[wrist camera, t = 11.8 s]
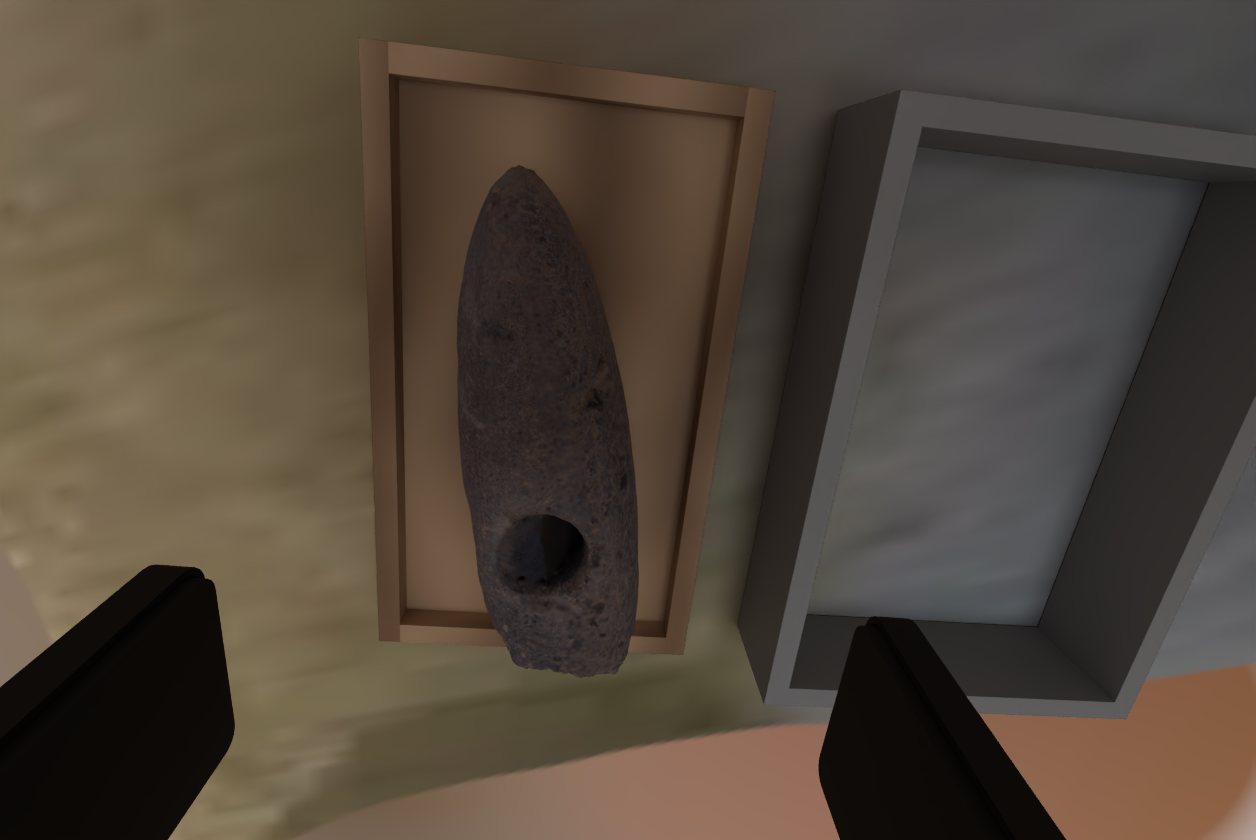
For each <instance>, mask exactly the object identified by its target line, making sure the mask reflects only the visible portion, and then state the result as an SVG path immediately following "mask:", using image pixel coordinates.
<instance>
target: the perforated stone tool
mask: <svg viewBox="0 0 1256 840" xmlns="http://www.w3.org/2000/svg"><path fill="white" fill-rule="evenodd" d="M457 353H458V372H457V387H458V427H459V442H460V454H461V466H462V477H463V485H464V490H465V494H466V497H467V500H468V504H469V508H470V513H471V521H472V529H473V535H474V541H475V549H476V560H477V570H478V577H479V582H480V585H481V588H482V592H483V597H484V602H485V605H486V608H487V611H488V613H489V615H490V617H491V620H492V622H493V626H494V627H495V629H496V630H497V632H498V633H499V635H501V637H502V639H503V641H504V643H505V645H506V646H507V648H508V650H509V652H510V655H511V658H512V660H513V662H514V663H515V664H516V665H518V666H520V667H524V668H526V669H528V668H532V669H539V670H544V669H551V670H553V671H554V672H561V673H564V674H567V673H571V674H573V675H575V676H577V677H580V678H581V677H583V676H584V677H586V676H588V677H590V676H594V675H596V674H602V673H603V674H607V673H611V674H615V673H616V672H617V671H618V669H619V667H620V666H621V664H623V661H624V660H625V657H626V656H627V654H628V649H629V644H630V639H631V636H632V634H633V632H634V630H635V622H636V612H637V603H638V587H639V565H638V507H637V494H636V482H635V469H634V461H633V453H632V443H631V434H630V426H629V418H628V412H627V406H626V400H625V395H624V389H623V384H622V380H621V375H620V371H619V367H618V363H617V359H616V354H615V349H614V345H613V341H612V338H611V334H610V330H609V326H608V322H607V319H606V315H605V312H604V308H603V304H602V301H601V298H600V294H599V291H598V288H597V285H596V282H595V279H594V276H593V273H592V270H591V268H590V265H589V262H588V259H587V257H586V255H585V252H584V250H583V248H582V245H581V242H580V240H579V238H578V236H577V234H576V232H575V230H574V228H573V227H572V224H571V222H570V220H569V218H568V216H567V214H566V212H565V210H564V209H563V207H562V205H561V204H560V202H559V201H558V199H557V198H556V196H555V195H554V194H553V192H552V191H551V190H550V189H549V187H548V186H547V185H546V184H545V182H544V181H543V180H542V179H541V178H540V177H539V176H538V175H537V174H536V172H535V171H534V170H531V169H527V168H525V167H523V166H520V165H518V166H516V167H514V166H513V167H511V168H510V169H509V170H507V171H506V173H505V174H504V175H503V176H502V177H500V179H498V180H497V181H496V182H495V183H494V185H493V186H492V187H491V189H490V190H489V193H488V195H487V197H486V199H485V201H484V203H483V205H482V208H481V210H480V213H479V216H478V219H477V221H476V224H475V227H474V230H473V233H472V236H471V240H470V243H469V247H468V251H467V256H466V261H465V265H464V273H463V280H462V284H461V290H460V296H459V304H458V316H457Z"/></svg>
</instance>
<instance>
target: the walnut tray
mask: <svg viewBox="0 0 1256 840" xmlns="http://www.w3.org/2000/svg"><path fill="white" fill-rule="evenodd" d="M359 62H360V91H361V121H362V150H363V180H364V209H365V239H366V268H367V298H368V327H369V357H370V387H371V416H372V446H373V475H374V505H375V534H376V564H377V593H378V623H379V641H394V642H415V643H437V644H458V645H479V646H501V647H507V646H506V645H505V643H504V641H503V639H502V637H501V635H499V633H498V632H497V630H496V629H495V627H494V626H493V622H492V620H491V617H490V615H489V613H488V611H487V608H486V605H485V602H484V597H483V592H482V588H481V585H480V582H479V577H478V570H477V560H476V549H475V541H474V535H473V529H472V521H471V513H470V508H469V504H468V500H467V497H466V494H465V490H464V485H463V477H462V466H461V454H460V442H459V427H458V387H457V372H458V353H457V316H458V304H459V296H460V290H461V284H462V280H463V273H464V265H465V261H466V256H467V251H468V247H469V243H470V240H471V236H472V233H473V230H474V227H475V224H476V221H477V219H478V216H479V213H480V210H481V208H482V205H483V203H484V201H485V199H486V197H487V195H488V193H489V190H490V189H491V187H492V186H493V185H494V183H495V182H496V181H497V180H498V179H500V177H502V176H503V175H504V174H505V173H506V171H507V170H509V169H510V168H511V167H513V166H514V167H516V166H518V165H520V166H523V167H525V168H527V169H531V170H534V171H535V172H536V174H537V175H538V176H539V177H540V178H541V179H542V180H543V181H544V182H545V184H546V185H547V186H548V187H549V189H550V190H551V191H552V192H553V194H554V195H555V196H556V198H557V199H558V201H559V202H560V204H561V205H562V207H563V209H564V210H565V212H566V214H567V216H568V218H569V220H570V222H571V224H572V227H573V228H574V230H575V232H576V234H577V236H578V238H579V240H580V242H581V245H582V248H583V250H584V252H585V255H586V257H587V259H588V262H589V265H590V268H591V270H592V273H593V276H594V279H595V282H596V285H597V288H598V291H599V294H600V298H601V301H602V304H603V308H604V312H605V315H606V319H607V322H608V326H609V330H610V334H611V338H612V341H613V345H614V349H615V354H616V359H617V363H618V367H619V371H620V375H621V380H622V384H623V389H624V395H625V400H626V406H627V412H628V418H629V426H630V434H631V443H632V453H633V461H634V469H635V482H636V494H637V507H638V565H639V587H638V603H637V612H636V622H635V630H634V632H633V634H632V636H631V639H630V644H629V649H628V652H629V653H650V654H672V655H683V653H684V647H685V641H686V635H687V629H688V623H689V617H690V611H691V604H692V598H693V592H694V586H695V580H696V574H697V568H698V562H699V556H700V549H701V543H702V537H703V531H704V525H705V519H706V513H707V507H708V500H709V494H710V488H711V482H712V476H713V470H714V464H715V458H716V452H717V445H718V439H719V433H720V427H721V421H722V415H723V409H724V403H725V397H726V390H727V384H728V378H729V372H730V366H731V360H732V354H733V348H734V342H735V335H736V329H737V323H738V317H739V311H740V305H741V299H742V293H743V287H744V280H745V274H746V268H747V262H748V256H749V250H750V244H751V238H752V232H753V225H754V219H755V213H756V207H757V201H758V195H759V189H760V183H761V177H762V170H763V164H764V158H765V152H766V146H767V140H768V134H769V128H770V121H771V115H772V109H773V103H774V97H775V91H773V90H765V89H758V88H750V87H742V86H734V85H726V84H718V83H711V82H703V81H695V80H687V79H679V78H671V77H664V76H656V75H648V74H640V73H632V72H624V71H617V70H609V69H601V68H593V67H585V66H578V65H570V64H562V63H554V62H546V61H538V60H531V59H523V58H515V57H507V56H499V55H491V54H484V53H476V52H468V51H460V50H452V49H444V48H437V47H429V46H421V45H413V44H405V43H397V42H390V41H382V40H374V39H366V38H359Z"/></svg>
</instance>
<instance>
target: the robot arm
mask: <svg viewBox="0 0 1256 840" xmlns="http://www.w3.org/2000/svg"><path fill="white" fill-rule="evenodd" d="M234 729H235V721H234V714H233V707H232V700H231V693H230V686H229V679H228V672H227V665H226V658H225V651H224V644H223V637H222V630H221V623H220V616H219V609H218V602H217V595H216V589H215V585H214V583H213V582H212V580H209V579H205V577H204V574H203V572H202V571H201V570H200V569H198V568H195V567H183V566H169V565H151V566H148V567H147V568H145V569H143V570H142V571H141V572H139V573H138V574H137V575H136V576H135V577H133V578H132V579H131V580H130V581H129V582H127V583H126V584H125V585H124V586H123V587H121V588H120V589H119V590H118V591H116V592H115V593H114V594H113V595H112V596H110V597H109V598H108V599H107V600H106V601H104V602H103V603H102V604H101V605H99V606H98V607H97V608H96V609H95V610H93V611H92V612H91V613H90V614H89V615H87V616H86V617H85V618H84V619H83V620H81V621H80V622H79V623H78V624H76V625H75V626H74V627H73V628H72V629H70V630H69V631H68V632H67V633H66V634H64V635H63V636H62V637H61V638H59V639H58V640H57V641H56V642H55V643H53V644H52V645H51V646H50V647H49V648H47V649H46V650H45V651H44V652H43V653H41V654H40V655H39V656H38V657H36V658H35V659H34V660H33V661H32V662H30V663H29V664H28V665H27V666H26V667H25V668H23V669H22V670H21V671H19V672H18V673H17V674H16V675H15V676H13V677H12V678H11V679H10V680H9V681H7V682H6V683H5V684H4V685H2V686H1V687H0V840H168V839H169V837H170V836H171V834H172V833H173V831H174V830H175V828H176V827H177V825H178V824H179V822H180V821H181V819H182V818H183V816H184V815H185V813H186V812H187V810H188V809H189V807H190V806H191V805H192V803H193V802H194V800H195V799H196V797H197V796H198V794H199V793H200V791H201V790H202V788H203V787H204V785H205V784H206V782H207V781H208V779H209V778H210V776H211V775H212V773H213V772H214V770H215V769H216V767H217V766H218V765H219V763H220V762H221V760H222V759H223V757H224V756H225V754H226V752H227V751H228V749H229V747H230V744H231V742H232V739H233V735H234ZM819 778H820V783H821V786H822V789H823V792H824V795H825V798H826V801H827V804H828V806H829V809H830V812H831V815H832V818H833V821H834V824H835V826H836V829H837V832H838V835H839V838H840V840H1066V839H1065V837H1064V836H1063V834H1062V833H1061V832H1060V830H1059V829H1058V827H1057V826H1056V825H1055V823H1054V821H1053V820H1052V819H1051V817H1050V816H1049V814H1048V813H1047V811H1046V810H1045V809H1044V807H1043V806H1042V804H1041V803H1040V801H1039V800H1038V798H1037V797H1036V795H1035V794H1034V793H1033V791H1032V790H1031V788H1030V787H1029V785H1028V784H1027V783H1026V781H1025V780H1024V778H1023V777H1022V776H1021V774H1020V772H1019V771H1018V770H1017V768H1016V767H1015V765H1014V764H1013V762H1012V761H1011V760H1010V758H1009V757H1008V755H1007V754H1006V752H1005V751H1004V749H1003V748H1002V747H1001V745H1000V744H999V742H998V741H997V739H996V738H995V736H994V735H993V734H992V732H991V731H990V729H989V728H988V727H987V725H986V724H985V722H984V721H983V719H982V718H981V716H980V715H979V713H978V712H977V711H976V709H975V708H974V706H973V705H972V703H971V702H970V701H969V699H968V698H967V696H966V695H965V693H964V692H963V690H962V689H961V688H960V686H959V685H958V683H957V682H956V680H955V679H954V677H953V676H952V675H951V673H950V672H949V670H948V669H947V667H946V666H945V665H944V663H943V662H942V660H941V659H940V657H939V656H938V654H937V653H936V652H935V650H934V649H933V647H932V646H931V644H930V643H929V642H928V640H927V639H926V637H925V636H924V634H923V633H922V631H921V630H920V629H919V627H918V626H917V624H916V623H915V622H914V621H913V620H910V619H904V618H890V617H876V616H874V617H870V618H869V620H868V621H867V622H866V625H865V626H863V625H860V626H858V627H857V628H856V629H855V632H854V635H853V638H852V642H851V645H850V649H849V653H848V656H847V660H846V663H845V667H844V671H843V674H842V678H841V681H840V685H839V689H838V692H837V696H836V699H835V703H834V707H833V710H832V714H831V717H830V721H829V725H828V729H827V732H826V736H825V739H824V743H823V746H822V750H821V753H820V758H819Z"/></svg>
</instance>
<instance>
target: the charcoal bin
mask: <svg viewBox="0 0 1256 840" xmlns="http://www.w3.org/2000/svg"><path fill="white" fill-rule="evenodd" d="M917 147H926V148H934V149H942V150H951V151H959V152H967V153H975V154H983V155H992V156H1000V157H1008V158H1016V159H1024V160H1032V161H1041V162H1049V163H1057V164H1065V165H1073V166H1082V167H1090V168H1098V169H1106V170H1114V171H1122V172H1131V173H1139V174H1147V175H1155V176H1163V177H1172V178H1180V179H1188V180H1196V181H1204V182H1210V184H1209V186H1208V189H1207V192H1206V194H1205V197H1204V199H1203V202H1202V204H1201V207H1200V210H1199V212H1198V215H1197V217H1196V220H1195V223H1194V225H1193V228H1192V230H1191V233H1190V235H1189V238H1188V241H1187V243H1186V246H1185V248H1184V251H1183V254H1182V256H1181V259H1180V261H1179V264H1178V266H1177V269H1176V272H1175V274H1174V277H1173V279H1172V282H1171V285H1170V287H1169V290H1168V292H1167V295H1166V297H1165V300H1164V303H1163V305H1162V308H1161V310H1160V313H1159V316H1158V318H1157V321H1156V323H1155V326H1154V328H1153V331H1152V334H1151V336H1150V339H1149V341H1148V344H1147V347H1146V349H1145V352H1144V354H1143V357H1142V359H1141V362H1140V365H1139V367H1138V370H1137V372H1136V375H1135V378H1134V380H1133V383H1132V385H1131V388H1130V390H1129V393H1128V396H1127V398H1126V401H1125V403H1124V406H1123V409H1122V411H1121V414H1120V416H1119V419H1118V421H1117V424H1116V427H1115V429H1114V432H1113V434H1112V437H1111V439H1110V442H1109V445H1108V447H1107V450H1106V452H1105V455H1104V458H1103V460H1102V463H1101V465H1100V468H1099V470H1098V473H1097V476H1096V478H1095V481H1094V483H1093V486H1092V489H1091V491H1090V494H1089V496H1088V499H1087V501H1086V504H1085V507H1084V509H1083V512H1082V514H1081V517H1080V520H1079V522H1078V525H1077V527H1076V530H1075V532H1074V535H1073V538H1072V540H1071V543H1070V545H1069V548H1068V551H1067V553H1066V556H1065V558H1064V561H1063V563H1062V566H1061V569H1060V571H1059V574H1058V576H1057V579H1056V582H1055V584H1054V587H1053V589H1052V592H1051V594H1050V597H1049V600H1048V602H1047V605H1046V607H1045V610H1044V613H1043V615H1042V618H1041V620H1040V623H1039V625H1038V627H1027V626H1008V625H990V624H971V623H952V622H933V621H915V620H913V621H914V622H915V623H916V624H917V626H918V627H919V629H920V630H921V631H922V633H923V634H924V636H925V637H926V639H927V640H928V642H929V643H930V644H931V646H932V647H933V649H934V650H935V652H936V653H937V654H938V656H939V657H940V659H941V660H942V662H943V663H944V665H945V666H946V667H947V669H948V670H949V672H950V673H951V675H952V676H953V677H954V679H955V680H956V682H957V683H958V685H959V686H960V688H961V689H962V690H963V692H964V693H965V695H966V696H967V698H968V699H969V701H970V702H971V703H972V705H973V706H974V708H975V709H976V711H977V712H978V713H984V714H1007V715H1032V716H1057V717H1083V718H1107V719H1127V717H1128V715H1129V713H1130V711H1131V708H1132V706H1133V704H1134V702H1135V700H1136V698H1137V696H1138V694H1139V692H1140V690H1141V687H1142V685H1143V683H1144V681H1145V679H1146V677H1147V675H1148V673H1149V670H1150V668H1151V666H1152V664H1153V662H1154V660H1155V658H1156V656H1157V653H1158V651H1159V649H1160V647H1161V645H1162V643H1163V641H1164V639H1165V636H1166V634H1167V632H1168V630H1169V628H1170V626H1171V624H1172V622H1173V620H1174V617H1175V615H1176V613H1177V611H1178V609H1179V607H1180V605H1181V603H1182V600H1183V598H1184V596H1185V594H1186V592H1187V590H1188V588H1189V586H1190V583H1191V581H1192V579H1193V577H1194V575H1195V573H1196V571H1197V569H1198V567H1199V564H1200V562H1201V560H1202V558H1203V556H1204V554H1205V552H1206V550H1207V547H1208V545H1209V543H1210V541H1211V539H1212V537H1213V535H1214V533H1215V530H1216V528H1217V526H1218V524H1219V522H1220V520H1221V518H1222V516H1223V513H1224V511H1225V509H1226V507H1227V505H1228V503H1229V501H1230V499H1231V497H1232V494H1233V492H1234V490H1235V488H1236V486H1237V484H1238V482H1239V480H1240V477H1241V475H1242V473H1243V471H1244V469H1245V467H1246V465H1247V463H1248V460H1249V458H1250V456H1251V454H1252V452H1253V450H1254V448H1255V446H1256V136H1253V135H1246V134H1238V133H1230V132H1223V131H1215V130H1207V129H1200V128H1192V127H1184V126H1177V125H1169V124H1161V123H1154V122H1146V121H1138V120H1131V119H1123V118H1115V117H1107V116H1100V115H1092V114H1084V113H1077V112H1069V111H1061V110H1054V109H1046V108H1038V107H1031V106H1023V105H1015V104H1008V103H1000V102H992V101H985V100H977V99H969V98H962V97H954V96H946V95H939V94H931V93H923V92H915V91H908V90H899V91H896V92H892V93H889V94H886V95H883V96H880V97H877V98H874V99H871V100H867V101H864V102H861V103H858V104H855V105H852V106H849V107H846V108H843V109H839V110H838V115H837V120H836V125H835V130H834V135H833V140H832V146H831V151H830V156H829V161H828V166H827V171H826V176H825V181H824V187H823V192H822V197H821V202H820V207H819V212H818V217H817V222H816V227H815V233H814V238H813V243H812V248H811V253H810V258H809V263H808V268H807V274H806V279H805V284H804V289H803V294H802V299H801V304H800V309H799V315H798V320H797V325H796V330H795V335H794V340H793V345H792V350H791V355H790V361H789V366H788V371H787V376H786V381H785V386H784V391H783V396H782V402H781V407H780V412H779V417H778V422H777V427H776V432H775V437H774V443H773V448H772V453H771V458H770V463H769V468H768V473H767V478H766V483H765V489H764V494H763V499H762V504H761V509H760V514H759V519H758V524H757V530H756V535H755V540H754V545H753V550H752V555H751V560H750V565H749V571H748V576H747V581H746V586H745V591H744V596H743V601H742V606H741V611H740V617H739V622H738V629H739V632H740V635H741V638H742V641H743V644H744V647H745V650H746V653H747V656H748V659H749V662H750V665H751V668H752V671H753V674H754V677H755V680H756V683H757V686H758V689H759V691H760V694H761V697H762V700H763V703H764V705H784V706H809V707H834V703H835V699H836V696H837V692H838V689H839V685H840V681H841V678H842V674H843V671H844V667H845V663H846V660H847V656H848V653H849V649H850V645H851V642H852V638H853V635H854V632H855V629H856V628H857V627H858V626H860V625H863V626H865V625H866V622H867V621H868V620H869V618H858V617H840V616H821V615H806V614H807V610H808V606H809V602H810V597H811V593H812V589H813V585H814V581H815V576H816V572H817V568H818V564H819V560H820V555H821V551H822V547H823V543H824V539H825V534H826V530H827V526H828V522H829V517H830V513H831V509H832V505H833V501H834V496H835V492H836V488H837V484H838V480H839V475H840V471H841V467H842V463H843V458H844V454H845V450H846V446H847V442H848V437H849V433H850V429H851V425H852V421H853V416H854V412H855V408H856V404H857V400H858V395H859V391H860V387H861V383H862V378H863V374H864V370H865V366H866V362H867V357H868V353H869V349H870V345H871V341H872V336H873V332H874V328H875V324H876V320H877V315H878V311H879V307H880V303H881V298H882V294H883V290H884V286H885V282H886V277H887V273H888V269H889V265H890V261H891V256H892V252H893V248H894V244H895V240H896V235H897V231H898V227H899V223H900V218H901V214H902V210H903V206H904V202H905V197H906V193H907V189H908V185H909V181H910V176H911V172H912V168H913V164H914V159H915V155H916V151H917Z"/></svg>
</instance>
